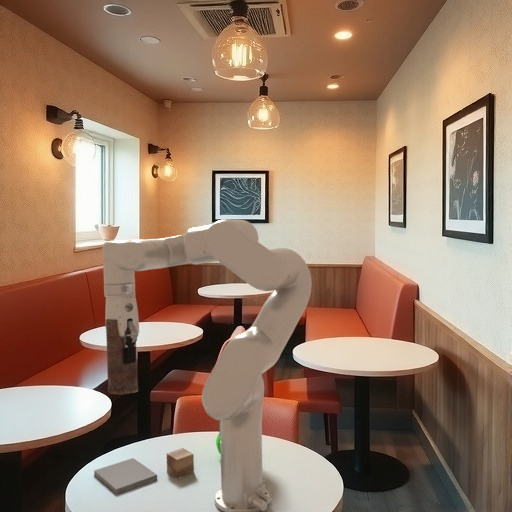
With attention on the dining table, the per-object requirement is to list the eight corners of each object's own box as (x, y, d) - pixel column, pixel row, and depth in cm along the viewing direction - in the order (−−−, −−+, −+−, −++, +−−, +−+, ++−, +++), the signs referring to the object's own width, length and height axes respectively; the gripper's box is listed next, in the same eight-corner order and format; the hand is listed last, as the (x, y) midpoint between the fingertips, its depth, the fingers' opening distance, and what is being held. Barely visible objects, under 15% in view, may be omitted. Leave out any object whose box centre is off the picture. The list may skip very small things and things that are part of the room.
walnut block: (193, 472, 135) (193, 453, 135) (177, 479, 132) (176, 459, 132) (183, 466, 139) (182, 447, 139) (167, 472, 136) (166, 453, 136)
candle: (130, 399, 128) (127, 318, 127) (102, 398, 129) (99, 317, 128) (143, 390, 135) (140, 313, 134) (116, 389, 137) (113, 312, 136)
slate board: (157, 479, 132) (157, 474, 132) (116, 494, 125) (116, 489, 125) (133, 462, 142) (133, 457, 142) (94, 475, 135) (94, 470, 135)
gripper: (150, 291, 127) (152, 363, 128) (118, 286, 140) (120, 351, 141) (121, 294, 122) (123, 369, 123) (91, 288, 135) (93, 356, 136)
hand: (122, 359), depth 132 cm, fingers closed on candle, 7 cm apart
